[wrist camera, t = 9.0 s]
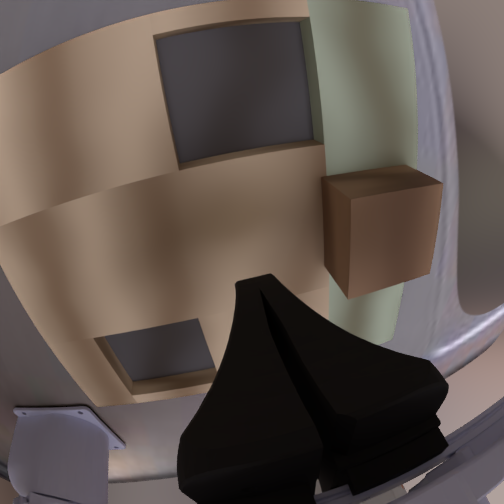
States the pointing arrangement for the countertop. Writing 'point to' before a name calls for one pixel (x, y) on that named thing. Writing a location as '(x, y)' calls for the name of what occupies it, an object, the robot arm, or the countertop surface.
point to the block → (379, 227)
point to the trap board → (193, 178)
